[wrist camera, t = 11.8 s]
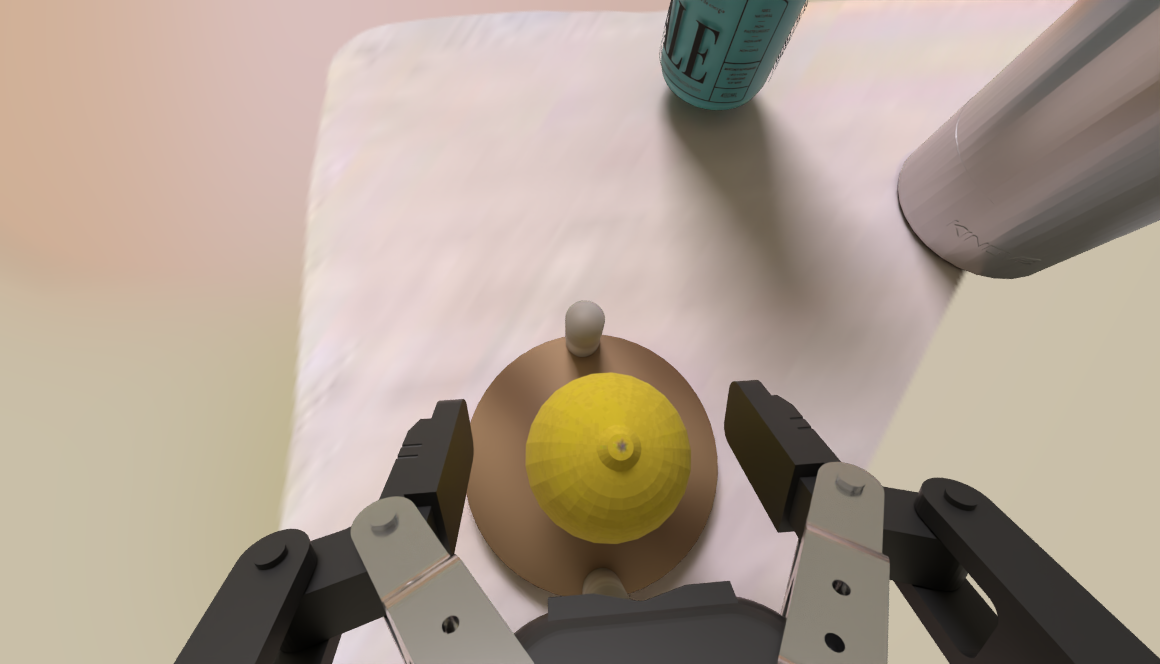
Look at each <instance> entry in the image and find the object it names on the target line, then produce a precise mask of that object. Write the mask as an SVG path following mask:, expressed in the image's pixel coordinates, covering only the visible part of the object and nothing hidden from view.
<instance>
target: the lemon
mask: <svg viewBox="0 0 1160 664" xmlns="http://www.w3.org/2000/svg"><path fill="white" fill-rule="evenodd" d="M526 471H527V475H528V479H529V484H530V488H531V490H532V492H533V494H534V496H535V498H536V500H537V502H538V504H539V506H540V507H541V509H542V510H543V511H544V512H545V513H546V514H547V515H548V516H549V518H550V519H551V520H552V521H553V522H554V523H555V524H556V525H558V526H559V527H561V528H562V529H564V530H565V531H567V532H568V533H570V534H571V535H573V536H575V537H578V538H581V539H584V540H587V541H590V542H593V543H607V544H619V543H623V542H627V541H631V540H635V539H639V538H641V537H642V536H644V535H646V534H648V533H650V532H651V531H653V530H655V529H657V528H658V527H659V526H660V525H661V524H662V523H663V522H664V521H665V520H666V519H667V518H668V517H669V516H670V515H671V514H672V513H673V512H674V511H675V509H676V507H677V506H678V504H679V502H680V500H681V499H682V497H683V495H684V493H685V491H686V487H687V483H688V480H689V476H690V473H691V447H690V443H689V438H688V434H687V430H686V428H685V426H684V424H683V422H682V419H681V417H680V415H679V413H678V411H677V410H676V409H675V408H674V406H673V405H672V404H671V403H670V401H669V400H668V399H667V398H666V397H665V396H664V395H663V394H662V393H661V392H659V391H658V390H657V389H655V388H654V387H653V386H651V385H650V384H648V383H646V382H644V381H642V380H639V379H637V378H635V377H633V376H629V375H623V374H618V373H612V372H610V373H597V374H590V375H587V376H584V377H581V378H578V379H575V380H572V381H571V382H569V383H568V384H566V385H564V386H563V387H561V388H560V389H558V390H557V391H555V392H554V393H553V394H552V395H551V397H550V398H549V399H548V400H547V401H546V402H545V403H544V404H543V405H542V406H541V408H540V410H539V412H538V414H537V415H536V417H535V419H534V421H533V423H532V424H531V428H530V432H529V435H528V439H527V443H526Z"/></svg>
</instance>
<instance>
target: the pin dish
mask: <svg viewBox="0 0 1160 664" xmlns="http://www.w3.org/2000/svg"><path fill="white" fill-rule="evenodd" d="M604 323H605V316H604V313H603V311H602V309H601V308H600V307H599V306H598V305H597V304H595V303H593V302H591V301H579V302H576V303H574V304H573V305H572V306H571V307H570V308H569V309H568V311H567V313H566V318H565V337H562V338H558V339H555V340H552V341H548V342H546V343H543V344H541V345H539V346H537V347H534V348H532V349H531V350H529V351H527V352H526V353H524V354H522V355H521V356H519V357H518V358H517V359H516V360H514V361H513V362H512V363H510V364H509V365H508V366H507V367H506V368H505V369H504V370H503V371H502V372H501V373H500V374H499V375H498V376H497V377H496V378H495V379H494V381H493V382H492V383H491V385H490V386H489V387H488V389H487V390H486V392H485V393H484V395H483V397H482V398H481V400H480V402H479V404H478V406H477V408H476V410H475V413H474V415H473V417H472V420H471V423H470V426H471V431H472V437H473V445H474V456H473V463H472V468H471V473H470V478H469V483H468V488H467V497H468V502H469V506H470V509H471V511H472V514H473V517H474V519H475V522H476V524H477V526H478V528H479V530H480V531H481V533H482V535H483V537H484V539H485V540H486V542H487V543H488V544H489V546H490V547H491V549H492V550H493V551H494V553H495V554H496V555H497V556H498V557H499V558H500V559H501V560H502V561H503V562H504V563H505V564H506V565H507V566H508V567H509V568H510V569H511V570H513V571H514V572H515V573H516V574H518V575H519V576H520V577H522V578H523V579H525V580H526V581H528V582H530V583H532V584H533V585H535V586H537V587H539V588H541V589H544V590H546V591H549V592H551V593H554V594H558V595H562V596H571V595H582V594H593V593H594V594H600V595H605V596H611V597H617V598H623V599H629V600H630V598H629V596H628V594H629V593H632V592H634V591H637V590H640V589H642V588H645V587H646V586H648V585H650V584H652V583H653V582H655V581H657V580H659V579H660V578H662V577H663V576H664V575H665V574H667V573H668V572H669V571H671V570H672V569H673V568H674V567H675V566H676V565H677V564H678V563H679V562H680V561H681V560H682V559H683V558H684V557H685V556H686V555H687V554H688V552H689V551H690V549H691V548H692V547H693V545H694V544H695V543H696V541H697V540H698V538H699V536H700V534H701V532H702V530H703V529H704V527H705V525H706V522H707V520H708V517H709V514H710V512H711V509H712V505H713V501H714V497H715V493H716V485H717V475H718V466H717V451H716V444H715V438H714V435H713V431H712V427H711V424H710V421H709V419H708V416H707V414H706V411H705V409H704V407H703V405H702V403H701V402H700V400H699V398H698V396H697V394H696V393H695V392H694V390H693V389H692V387H691V386H690V385H689V383H688V382H687V381H686V380H685V379H684V377H683V376H682V375H681V374H680V373H679V372H678V371H677V370H676V369H675V368H674V367H673V366H671V365H670V364H669V363H668V362H667V361H665V360H664V359H663V358H661V357H660V356H658V355H657V354H655V353H654V352H652V351H651V350H649V349H647V348H645V347H642V346H640V345H638V344H636V343H633V342H630V341H627V340H625V339H621V338H617V337H612V336H607V335H602V331H603V327H604ZM610 372H612V373H618V374H623V375H629V376H633V377H635V378H637V379H639V380H642V381H644V382H646V383H648V384H650V385H651V386H653V387H654V388H655V389H657V390H658V391H659V392H661V393H662V394H663V395H664V396H665V397H666V398H667V399H668V400H669V401H670V403H671V404H672V405H673V406H674V408H675V409H676V410H677V411H678V413H679V415H680V417H681V419H682V422H683V424H684V426H685V428H686V430H687V434H688V438H689V443H690V447H691V473H690V476H689V480H688V483H687V487H686V491H685V493H684V495H683V497H682V499H681V500H680V502H679V504H678V506H677V507H676V509H675V511H674V512H673V513H672V514H671V515H670V516H669V517H668V518H667V519H666V520H665V521H664V522H663V523H662V524H661V525H660V526H659V527H658V528H657V529H655V530H653V531H651V532H650V533H648V534H646V535H644V536H642V537H641V538H639V539H635V540H631V541H627V542H623V543H619V544H607V543H593V542H590V541H587V540H584V539H581V538H578V537H575V536H573V535H571V534H570V533H568V532H567V531H565V530H564V529H562V528H561V527H559V526H558V525H556V524H555V523H554V522H553V521H552V520H551V519H550V518H549V516H548V515H547V514H546V513H545V512H544V511H543V510H542V509H541V507H540V506H539V504H538V502H537V500H536V498H535V496H534V494H533V492H532V490H531V488H530V484H529V479H528V475H527V471H526V443H527V439H528V435H529V432H530V428H531V424H532V423H533V421H534V419H535V417H536V415H537V414H538V412H539V410H540V408H541V406H542V405H543V404H544V403H545V402H546V401H547V400H548V399H549V398H550V397H551V395H552V394H553V393H554V392H555V391H557V390H558V389H560V388H561V387H563V386H564V385H566V384H568V383H569V382H571V381H572V380H575V379H578V378H581V377H584V376H587V375H590V374H597V373H610Z"/></svg>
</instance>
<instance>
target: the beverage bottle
mask: <svg viewBox="0 0 1160 664" xmlns="http://www.w3.org/2000/svg"><path fill="white" fill-rule="evenodd" d="M805 2H806V0H671V2H670V7H669V10H668V14H669V17H668V15H667V18H668V23H667V19H666V23H665V25H666V35H665V36H664V37H665V41H664V42H663V50H661V51H662V53H661V55H662V56H661V60H660V63H661V66H662V73H663V76H664V79H665V81H666V83H667V85H668V86H669V88H670V89H671V90H672V91H673V92H674V93H675V94H676V95H677V96H678V97H679V98H681V99H682V100H684V101H686V102H687V103H689V104H691V105H694V106H696V107H700V108H704V109H709V110H728V109H733V108H736V107H739V106H741V105H743V104H745V103H747V102H748V101H750V100H751V99H752V98H753V97H754V96H755V95H756V94H757V93H758V92H759V91H760V89H761V88H762V87H763V85H764V84H765V82H766V80H767V78H768V76H769V74H770V72H771V70H772V68H773V69H774V64H775V62H777V58H778V59H779V54H780V57H781V53H782V55H783V51H782V48H783V49H784V44H786V40H787V41H788V36H789V34H790V36H791V30H792V28H793V26H794V24H795V22H796V20H797V23H798V22H799V21H798V19H797V18H798V16H799V15H800V13H801V10H802V8H803V6H804V7H805V6H806V7H807V5H806V3H805ZM807 3H808V2H807ZM805 9H806V8H805ZM803 13H804V12H803ZM799 20H800V17H799ZM796 26H797V24H796ZM664 29H665V27H664ZM793 31H794V29H793ZM663 34H664V32H663ZM791 37H792V36H791ZM789 41H790V37H789ZM661 43H662V41H661ZM788 43H789V42H788ZM787 45H788V44H787ZM787 45H785V46H787ZM661 47H662V45H661ZM785 49H786V48H785ZM785 49H784V50H785ZM780 52H781V53H780ZM659 55H660V52H659ZM780 59H781V58H780ZM780 59H779V60H780ZM779 60H778V61H779ZM778 63H779V62H778ZM776 64H777V63H776ZM776 67H777V66H776ZM775 69H776V68H775ZM772 74H773V72H772ZM770 79H771V78H770Z"/></svg>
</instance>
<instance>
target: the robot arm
mask: <svg viewBox="0 0 1160 664" xmlns="http://www.w3.org/2000/svg"><path fill="white" fill-rule="evenodd" d="M898 192H899V201H900V204H901V207H902V210H903V212H904V215H905V217H906V219H907V221H908V222H909V224H910V226H911V227H912V229H913V230H914V232H915V233H916V234H917V235H918V236H919V238H920V239H921V240H922V241H923V242H924V243H925V244H926V245H927V246H928V247H929V248H930V249H931V250H933V251H934V252H935V253H936V254H938V255H939V256H940V257H941V258H943V259H945V260H946V261H948V262H950V263H951V264H953V265H955V266H957V267H958V268H961V269H963V270H966V271H969V272H971V273H974V274H976V275H981V276H986V277H991V278H1002V279H1014V278H1019V277H1025V276H1029V275H1031V274H1034V273H1036V272H1038V271H1041V270H1043V269H1045V268H1048V267H1050V266H1052V265H1055V264H1057V263H1059V262H1062V261H1064V260H1067V259H1069V258H1071V257H1074V256H1076V255H1078V254H1081V253H1083V252H1085V251H1088V250H1090V249H1092V248H1095V247H1097V246H1099V245H1102V244H1104V243H1106V242H1109V241H1111V240H1113V239H1116V238H1118V237H1121V236H1124V235H1126V234H1129V233H1131V232H1133V231H1136V230H1138V229H1140V228H1142V227H1145V226H1147V225H1149V224H1152V223H1154V222H1157V221H1159V220H1160V0H1078V1H1077V2H1076V3H1075V4H1073V5H1072V6H1071V7H1070V8H1069V9H1068V10H1067V11H1066V12H1065V13H1064V14H1063V15H1062V16H1060V17H1059V18H1058V19H1057V20H1056V21H1055V22H1054V23H1053V24H1052V25H1051V26H1050V27H1049V28H1047V29H1046V30H1045V31H1044V32H1043V33H1042V34H1041V35H1040V36H1039V37H1038V38H1037V39H1036V40H1035V41H1033V42H1032V43H1031V44H1030V45H1029V46H1028V47H1027V48H1026V49H1025V50H1024V51H1023V52H1022V53H1020V54H1019V55H1018V56H1017V57H1016V58H1015V59H1014V60H1013V61H1012V62H1011V63H1010V64H1009V65H1007V66H1006V67H1005V68H1004V69H1003V70H1002V71H1001V72H1000V73H999V74H998V75H997V76H996V77H994V78H993V79H992V80H991V81H990V82H989V83H988V84H987V85H986V86H985V87H984V88H983V89H981V90H980V91H979V92H978V93H977V94H976V95H975V96H974V97H972V98H971V99H970V100H969V101H968V102H967V103H966V104H965V105H964V106H963V107H962V108H961V109H959V110H958V111H957V112H956V113H955V114H954V115H953V116H952V117H951V118H950V119H949V120H948V121H947V122H945V123H944V124H943V125H942V126H941V127H940V128H939V129H938V130H937V131H936V132H935V133H934V134H933V135H931V136H930V137H929V138H928V139H927V140H926V141H925V142H924V143H923V144H922V145H921V146H920V147H919V148H917V149H916V150H915V151H914V152H913V153H912V154H911V156H910V157H909V158H908V159H907V160H906V161H905V163H904V165H903V168H902V170H901V172H900V175H899V183H898ZM724 430H725V436H726V439H727V442H728V444H729V446H730V447H731V449H732V451H733V453H734V455H735V456H736V458H737V460H738V462H739V464H740V465H741V467H742V469H743V471H744V473H745V474H746V476H747V478H748V480H749V482H750V483H751V485H752V487H753V489H754V491H755V492H756V494H757V496H758V498H759V500H760V501H761V503H762V505H763V507H764V509H765V510H766V512H767V514H768V516H769V518H770V519H771V521H772V523H773V525H774V527H775V528H776V530H777V532H778V533H779V532H791V531H795V533H796V535H797V536H798V538H799V539H798V542H797V546H796V550H795V554H794V558H793V562H792V567H791V571H790V575H789V580H788V584H787V588H786V592H785V597H784V601H783V605H782V609H781V613H780V614H779V613H777V612H776V611H774V610H772V609H770V608H768V607H766V606H764V605H762V604H759V603H757V602H754V601H751V600H748V599H745V598H741V597H736V596H735V593H734V591H733V588H732V586H731V583H730V581H723V582H712V583H701V584H691V585H684V586H682V587H679V588H677V589H674V590H671V591H669V592H666V593H664V594H661V595H658V596H656V597H653V598H651V599H648V600H645V601H635V600H629V599H623V598H617V597H611V596H605V595H600V594H594V593H593V594H582V595H571V596H561V597H550V598H548V613H547V614H545V615H542V616H540V617H538V618H536V619H534V620H532V621H531V622H529V623H527V624H526V625H524V626H523V627H522V628H520V629H519V630H518V631H516V632H515V633H514V634H513V632H512V631H511V630H510V628H509V627H508V625H507V624H506V623H505V621H504V620H503V618H502V617H501V616H500V614H499V613H498V611H497V610H496V608H495V607H494V606H493V604H492V603H491V601H490V600H489V599H488V597H487V596H486V594H485V593H484V591H483V590H482V589H481V587H480V586H479V584H478V583H477V582H476V580H475V579H474V577H473V576H472V575H471V573H470V572H469V570H468V569H467V567H466V566H465V565H464V563H463V562H462V560H461V559H460V558H459V557H458V556H457V555H456V554H454V552H455V547H456V542H457V537H458V532H459V527H460V522H461V517H462V513H463V508H464V503H465V498H466V493H467V488H468V483H469V478H470V473H471V468H472V463H473V456H474V445H473V437H472V431H471V426H470V420H469V415H468V409H467V404H466V401H465V400H464V399H459V400H444V401H438V402H437V405H436V407H435V410H434V413H433V416H432V418H431V419H420V420H419V421H418V422H417V423H416V424H415V425H414V426H413V427H412V428H411V429H410V430H409V431H408V433H407V435H406V437H405V440H404V442H403V444H402V448H401V449H400V452H399V454H398V459H396V461H395V463H394V466H393V468H392V470H391V473H390V475H389V477H388V480H387V482H386V485H385V487H384V489H383V492H382V494H381V496H380V499H379V500H378V501H376V502H374V503H372V504H371V505H369V506H368V507H366V508H365V509H364V510H363V511H361V512H360V513H359V515H358V516H357V517H356V518H355V520H354V522H353V524H352V526H351V527H349V528H347V529H345V530H342V531H339V532H336V533H333V534H330V535H327V536H325V537H322V538H319V539H316V540H313V541H310V539H309V537H308V535H307V534H306V533H305V532H303V531H301V530H298V529H286V530H281V531H278V532H275V533H272V534H270V535H268V536H266V537H264V538H262V539H260V540H259V541H257V542H256V543H255V544H253V545H252V546H251V547H249V548H248V549H247V550H246V551H245V552H244V553H243V554H242V555H241V556H240V558H239V559H238V561H237V562H236V564H235V565H234V567H233V568H232V570H231V572H230V573H229V575H228V577H227V578H226V580H225V582H224V583H223V585H222V586H221V588H220V590H219V591H218V593H217V595H216V596H215V598H214V599H213V601H212V602H211V604H210V606H209V607H208V609H207V611H206V612H205V614H204V616H203V617H202V619H201V620H200V622H199V624H198V625H197V627H196V628H195V630H194V632H193V633H192V635H191V636H190V638H189V640H188V641H187V643H186V645H185V647H184V648H183V649H182V651H181V653H180V654H179V656H178V658H177V659H176V661H175V663H174V664H332V662H333V659H334V656H335V653H336V650H337V647H338V644H339V641H340V638H341V635H342V633H345V632H347V631H349V630H352V629H354V628H357V627H359V626H362V625H364V624H366V623H369V622H371V621H374V620H376V619H379V618H381V617H383V618H384V620H385V623H386V625H387V627H388V629H389V631H390V633H391V635H392V638H393V640H394V642H395V644H396V646H397V648H398V650H399V653H400V655H401V657H402V659H403V661H404V663H405V664H887V658H888V657H887V656H888V616H889V614H888V613H889V580H893V581H894V582H895V584H896V585H897V587H898V588H899V590H900V591H901V593H902V594H903V596H904V597H905V599H906V600H907V602H908V603H909V605H910V606H911V607H912V609H913V610H914V612H915V613H916V615H917V616H918V618H919V619H920V621H921V622H922V624H923V625H924V626H925V628H926V629H927V631H928V632H929V634H930V635H931V637H932V638H933V640H934V641H935V643H936V644H937V646H938V647H939V649H940V650H941V652H942V653H943V655H944V656H945V657H946V659H947V660H948V662H949V663H950V664H1160V658H1158V657H1157V656H1156V655H1155V654H1154V653H1153V652H1152V651H1151V650H1150V649H1149V648H1148V647H1147V646H1146V645H1145V644H1143V643H1142V642H1141V641H1140V640H1139V639H1138V638H1137V637H1136V636H1135V635H1134V634H1133V633H1132V632H1131V631H1130V630H1129V629H1127V628H1126V627H1125V626H1124V625H1123V624H1122V623H1121V622H1120V621H1119V620H1118V619H1117V618H1116V617H1115V616H1114V615H1112V614H1111V613H1110V612H1109V611H1108V610H1107V609H1106V608H1105V607H1104V606H1103V605H1102V604H1101V603H1100V602H1099V601H1097V600H1096V599H1095V598H1094V597H1093V596H1092V595H1091V594H1090V593H1089V592H1088V591H1087V590H1086V589H1085V588H1084V587H1083V586H1081V585H1080V584H1079V583H1078V582H1077V581H1076V580H1075V579H1074V578H1073V577H1072V576H1071V575H1070V574H1069V573H1067V572H1066V571H1065V570H1064V569H1063V568H1062V567H1061V566H1060V565H1059V564H1058V563H1057V562H1056V561H1055V560H1054V559H1053V558H1052V557H1050V556H1049V555H1048V554H1047V553H1046V552H1045V551H1044V550H1043V549H1042V548H1041V547H1039V545H1038V544H1037V543H1035V542H1034V541H1033V540H1032V539H1031V538H1030V537H1029V536H1028V535H1027V534H1026V533H1025V532H1024V531H1023V530H1022V529H1021V528H1019V527H1018V526H1017V525H1016V524H1015V523H1014V522H1013V521H1012V520H1011V519H1010V518H1009V517H1008V516H1006V514H1004V513H1003V512H1002V511H1001V510H1000V509H999V508H998V507H997V506H996V505H995V504H994V503H993V502H992V501H991V500H990V499H988V498H987V497H986V496H984V495H983V494H982V493H981V492H979V491H977V490H976V489H974V488H972V487H970V486H968V485H966V484H963V483H961V482H958V481H955V480H951V479H946V478H931V479H928V480H926V481H924V482H923V484H922V486H921V488H920V491H919V493H918V492H912V491H906V490H900V489H894V488H888V487H883V486H882V485H881V484H880V482H879V481H878V480H877V479H876V478H875V477H874V476H873V475H871V474H870V473H869V472H867V471H865V470H864V469H862V468H860V467H857V466H855V465H852V464H848V463H843V462H841V461H840V460H839V459H838V458H837V457H836V455H835V454H834V453H833V452H832V451H831V449H830V448H829V447H828V446H827V445H826V444H825V442H824V441H823V440H822V439H821V438H820V436H819V435H818V434H817V433H816V432H815V431H814V429H811V426H810V425H809V424H808V422H807V421H806V420H805V419H803V416H802V415H801V414H800V413H799V412H798V411H797V409H796V408H795V407H794V406H793V405H792V404H790V403H789V402H787V401H786V400H784V399H783V398H781V397H780V396H778V395H771V394H770V393H769V392H768V391H767V389H766V388H765V387H764V386H763V384H762V383H761V382H760V381H759V380H749V381H734V382H732V383H731V384H730V388H729V394H728V401H727V407H726V414H725V421H724ZM968 573H969V574H970V576H971V577H972V578H973V579H974V580H975V581H976V583H977V584H978V585H979V586H980V587H981V589H982V590H983V591H984V592H985V593H986V595H987V596H988V597H989V598H990V599H991V601H992V603H993V604H994V606H995V608H996V611H997V615H998V616H997V615H996V614H995V613H994V611H992V609H991V608H990V607H989V605H988V604H987V603H986V602H985V601H984V599H983V598H982V597H981V596H980V595H979V594H978V592H977V591H976V590H975V589H974V588H973V586H972V585H971V584H970V583H969V582H968V580H967V579H966V576H967V574H968Z"/></svg>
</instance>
